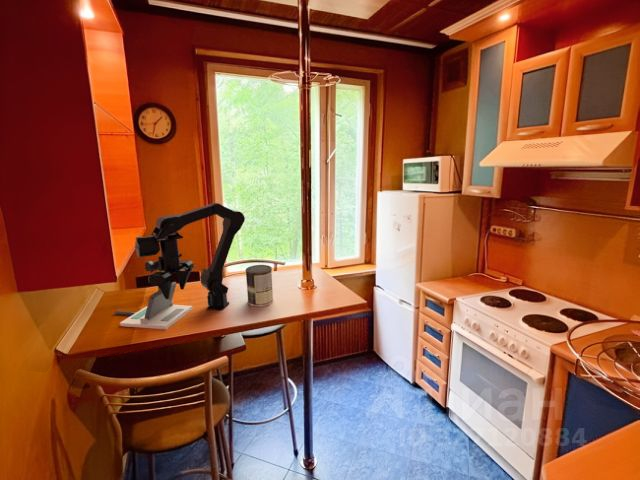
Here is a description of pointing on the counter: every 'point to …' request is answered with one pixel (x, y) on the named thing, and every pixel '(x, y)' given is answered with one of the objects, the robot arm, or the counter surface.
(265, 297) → the coffee can
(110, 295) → the counter surface
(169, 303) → the lever
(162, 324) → the switch plate
